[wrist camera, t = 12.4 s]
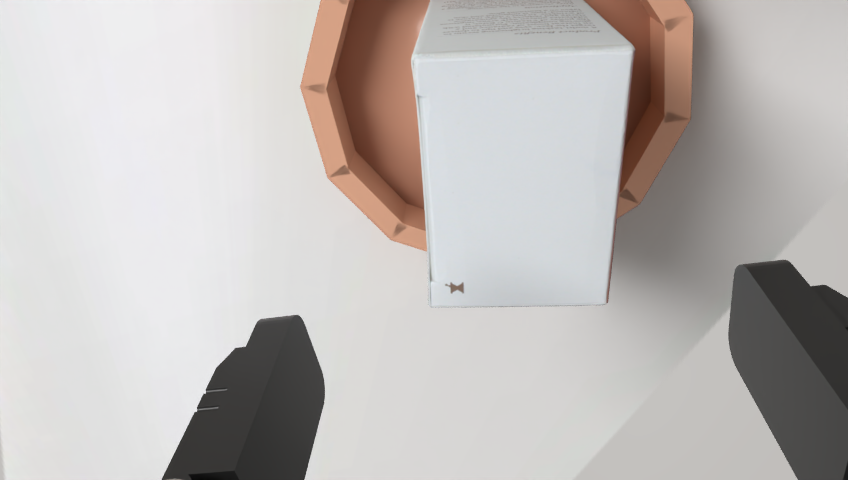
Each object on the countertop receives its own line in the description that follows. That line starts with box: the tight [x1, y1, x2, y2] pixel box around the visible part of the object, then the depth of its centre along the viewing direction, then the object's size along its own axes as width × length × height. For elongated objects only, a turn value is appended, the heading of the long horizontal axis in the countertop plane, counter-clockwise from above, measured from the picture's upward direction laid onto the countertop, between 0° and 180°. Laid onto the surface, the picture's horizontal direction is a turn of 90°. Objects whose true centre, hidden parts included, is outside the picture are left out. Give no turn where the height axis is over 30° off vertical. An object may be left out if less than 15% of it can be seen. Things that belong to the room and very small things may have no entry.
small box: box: [411, 0, 635, 308], centre depth 21 cm, size 8×6×10 cm
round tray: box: [300, 0, 693, 251], centre depth 25 cm, size 15×15×3 cm
